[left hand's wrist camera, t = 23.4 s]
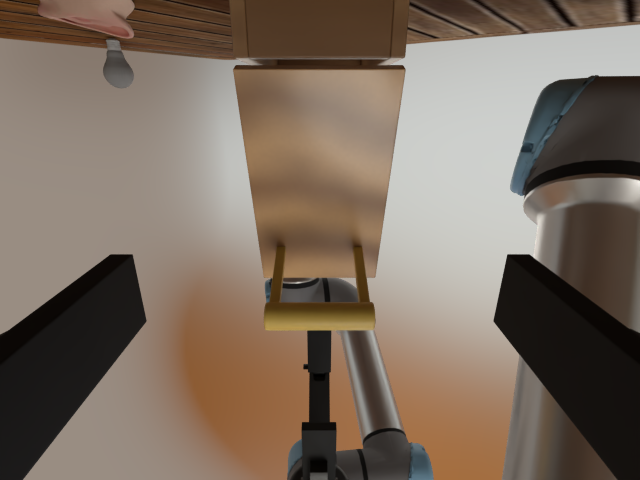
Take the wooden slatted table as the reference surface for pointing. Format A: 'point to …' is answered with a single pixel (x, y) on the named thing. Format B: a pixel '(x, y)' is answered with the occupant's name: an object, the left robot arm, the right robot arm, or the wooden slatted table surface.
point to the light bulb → (117, 66)
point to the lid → (319, 179)
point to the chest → (319, 31)
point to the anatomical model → (92, 14)
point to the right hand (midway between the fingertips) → (319, 365)
